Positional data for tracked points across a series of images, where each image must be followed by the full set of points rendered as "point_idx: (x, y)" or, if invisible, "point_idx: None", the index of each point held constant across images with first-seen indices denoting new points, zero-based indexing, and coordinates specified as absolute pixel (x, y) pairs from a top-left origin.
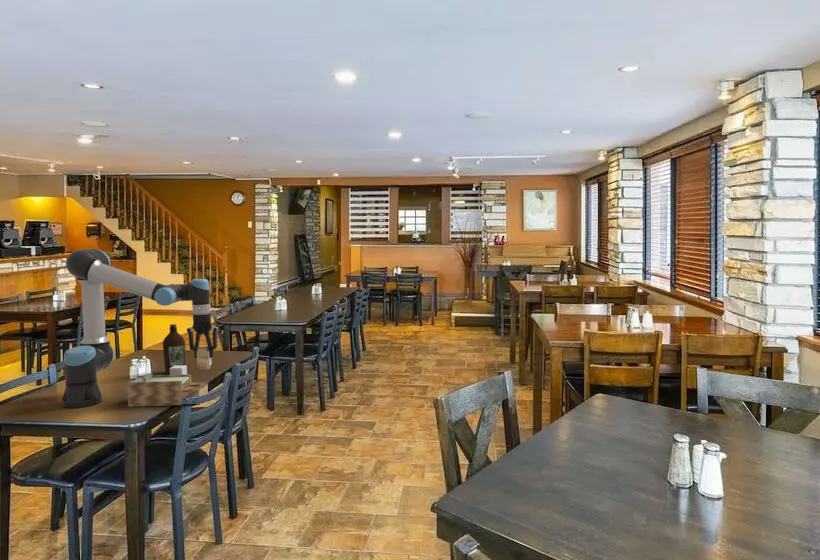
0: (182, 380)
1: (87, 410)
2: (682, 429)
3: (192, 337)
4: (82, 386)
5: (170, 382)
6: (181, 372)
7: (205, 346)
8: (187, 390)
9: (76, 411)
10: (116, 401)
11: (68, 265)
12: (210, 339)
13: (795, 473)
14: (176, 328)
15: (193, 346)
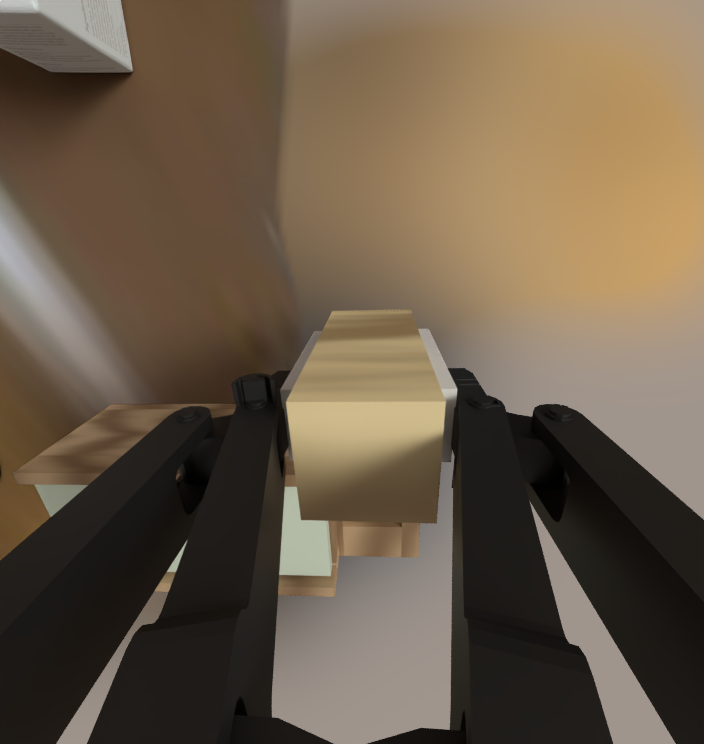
0: (318, 549)
1: (35, 525)
2: None
3: (82, 621)
4: None
5: (280, 591)
6: (68, 35)
7: (398, 464)
8: (365, 554)
9: (8, 531)
10: (45, 438)
11: None
12: (530, 537)
13: None
14: None
15: (195, 443)
